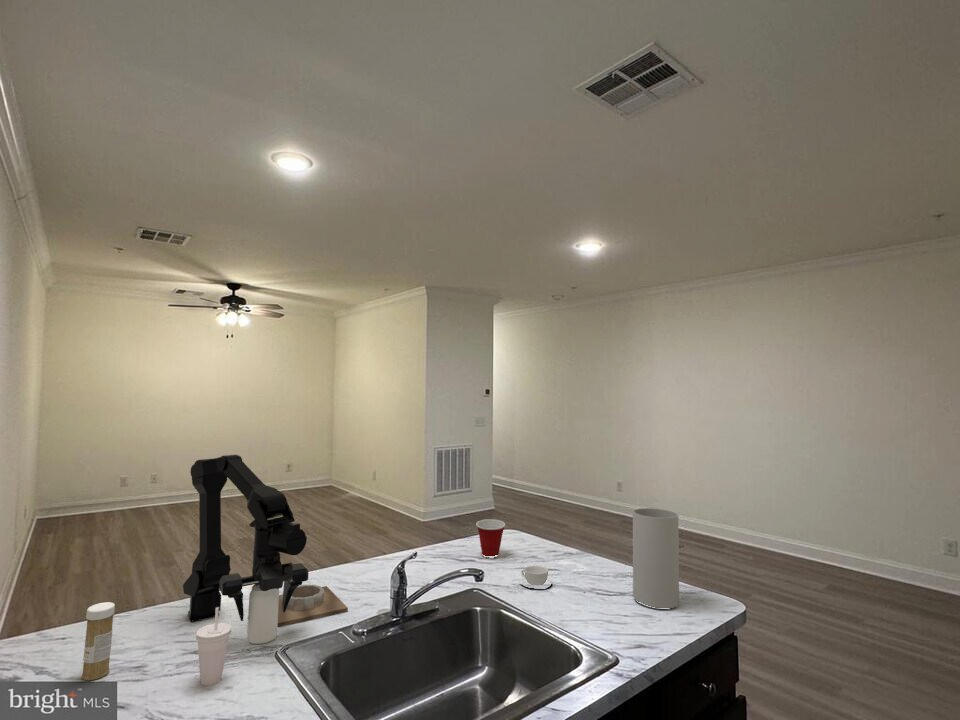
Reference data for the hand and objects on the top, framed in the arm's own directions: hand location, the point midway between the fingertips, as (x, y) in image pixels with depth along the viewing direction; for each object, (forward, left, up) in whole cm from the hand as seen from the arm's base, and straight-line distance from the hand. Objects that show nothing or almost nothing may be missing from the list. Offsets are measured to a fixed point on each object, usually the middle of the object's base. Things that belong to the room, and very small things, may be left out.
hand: (263, 616), depth 118 cm
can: (0, 0, -5) cm, 5 cm away
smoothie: (-12, -13, -5) cm, 18 cm away
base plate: (+13, +13, -5) cm, 19 cm away
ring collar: (+13, +13, -5) cm, 19 cm away
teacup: (+78, -7, -6) cm, 79 cm away
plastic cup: (+82, +23, -5) cm, 85 cm away
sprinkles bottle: (-31, +1, -5) cm, 31 cm away
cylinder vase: (+99, -35, -5) cm, 105 cm away
